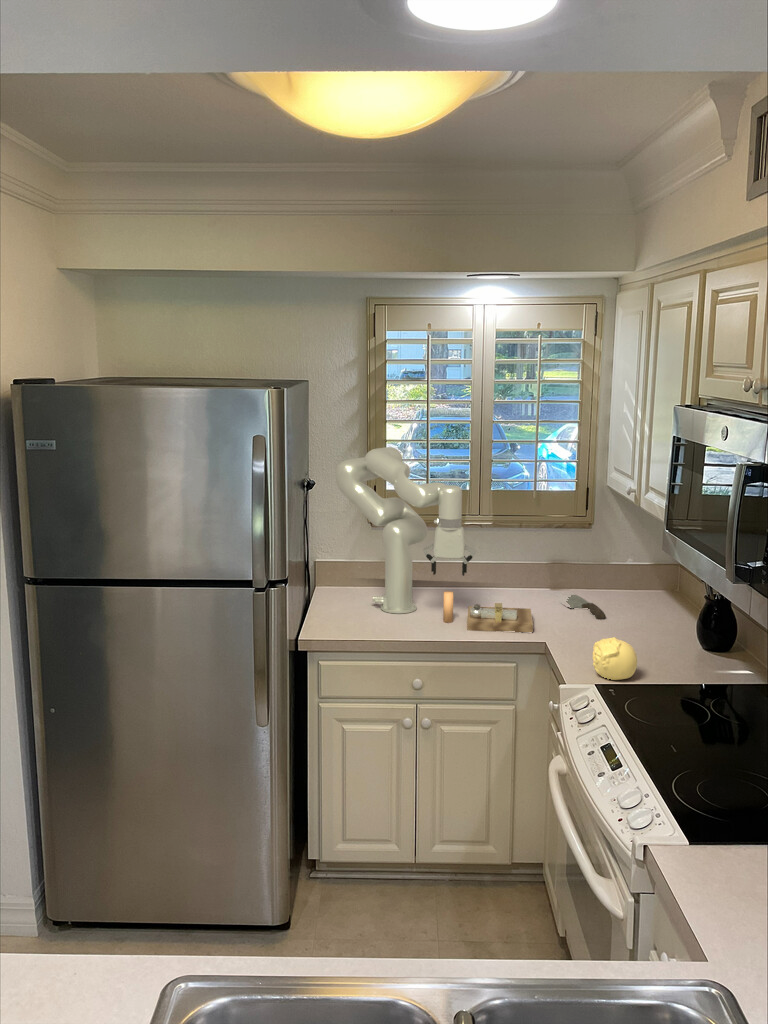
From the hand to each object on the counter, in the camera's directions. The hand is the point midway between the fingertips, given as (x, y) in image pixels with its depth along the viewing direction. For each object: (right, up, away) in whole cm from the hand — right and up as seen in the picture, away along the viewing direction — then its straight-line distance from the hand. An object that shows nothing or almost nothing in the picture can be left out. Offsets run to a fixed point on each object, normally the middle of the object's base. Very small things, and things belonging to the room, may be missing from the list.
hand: (448, 574), depth 276 cm
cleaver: (+48, -14, +20) cm, 54 cm away
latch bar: (+14, -14, -3) cm, 20 cm away
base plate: (+17, -16, +1) cm, 24 cm away
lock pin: (0, -16, +3) cm, 16 cm away
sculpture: (+42, -25, -45) cm, 67 cm away
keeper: (+16, -14, -4) cm, 22 cm away
